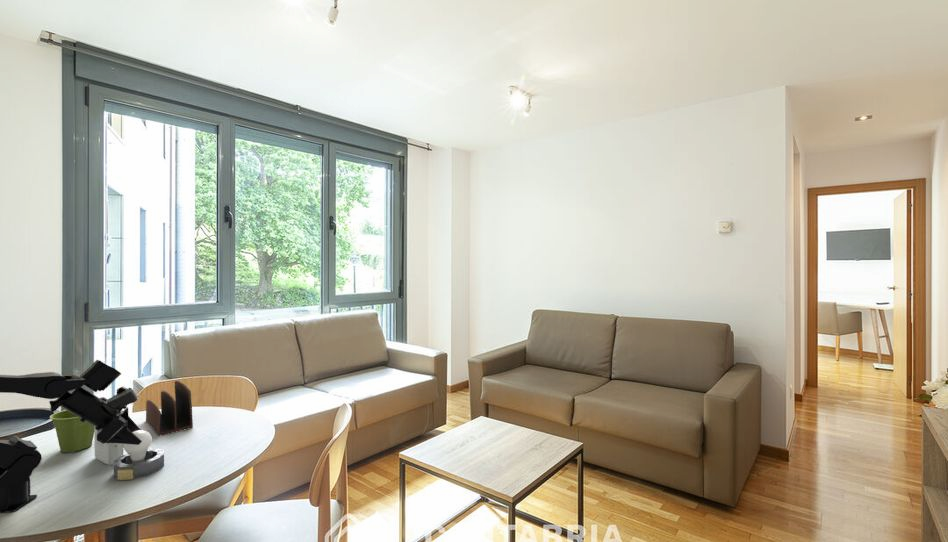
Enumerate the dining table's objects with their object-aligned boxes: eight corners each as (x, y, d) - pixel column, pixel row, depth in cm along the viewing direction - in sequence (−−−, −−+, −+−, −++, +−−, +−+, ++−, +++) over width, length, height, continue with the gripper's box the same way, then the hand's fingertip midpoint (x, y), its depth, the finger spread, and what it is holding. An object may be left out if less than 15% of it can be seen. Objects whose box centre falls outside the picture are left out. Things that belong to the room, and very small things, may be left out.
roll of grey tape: (148, 479, 116) (147, 466, 116) (102, 482, 114) (101, 469, 114) (171, 459, 128) (171, 447, 128) (130, 461, 126) (129, 449, 126)
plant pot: (105, 447, 135) (104, 411, 135) (52, 460, 127) (51, 422, 126) (98, 436, 143) (98, 403, 143) (48, 448, 134) (47, 412, 134)
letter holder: (177, 414, 165) (177, 377, 165) (193, 428, 151) (192, 388, 151) (145, 421, 158) (145, 382, 157) (158, 436, 144) (157, 394, 144)
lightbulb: (127, 467, 123) (126, 428, 122) (155, 462, 125) (154, 425, 125) (120, 477, 117) (119, 437, 117) (149, 472, 120) (148, 432, 119)
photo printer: (126, 460, 127) (125, 418, 126) (108, 466, 123) (107, 423, 123) (110, 452, 132) (109, 412, 131) (92, 458, 128) (91, 416, 128)
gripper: (113, 389, 110) (166, 422, 117) (116, 373, 125) (163, 404, 132) (71, 427, 106) (129, 459, 113) (79, 406, 120) (130, 436, 127)
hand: (140, 437), depth 121 cm, fingers open, 9 cm apart
